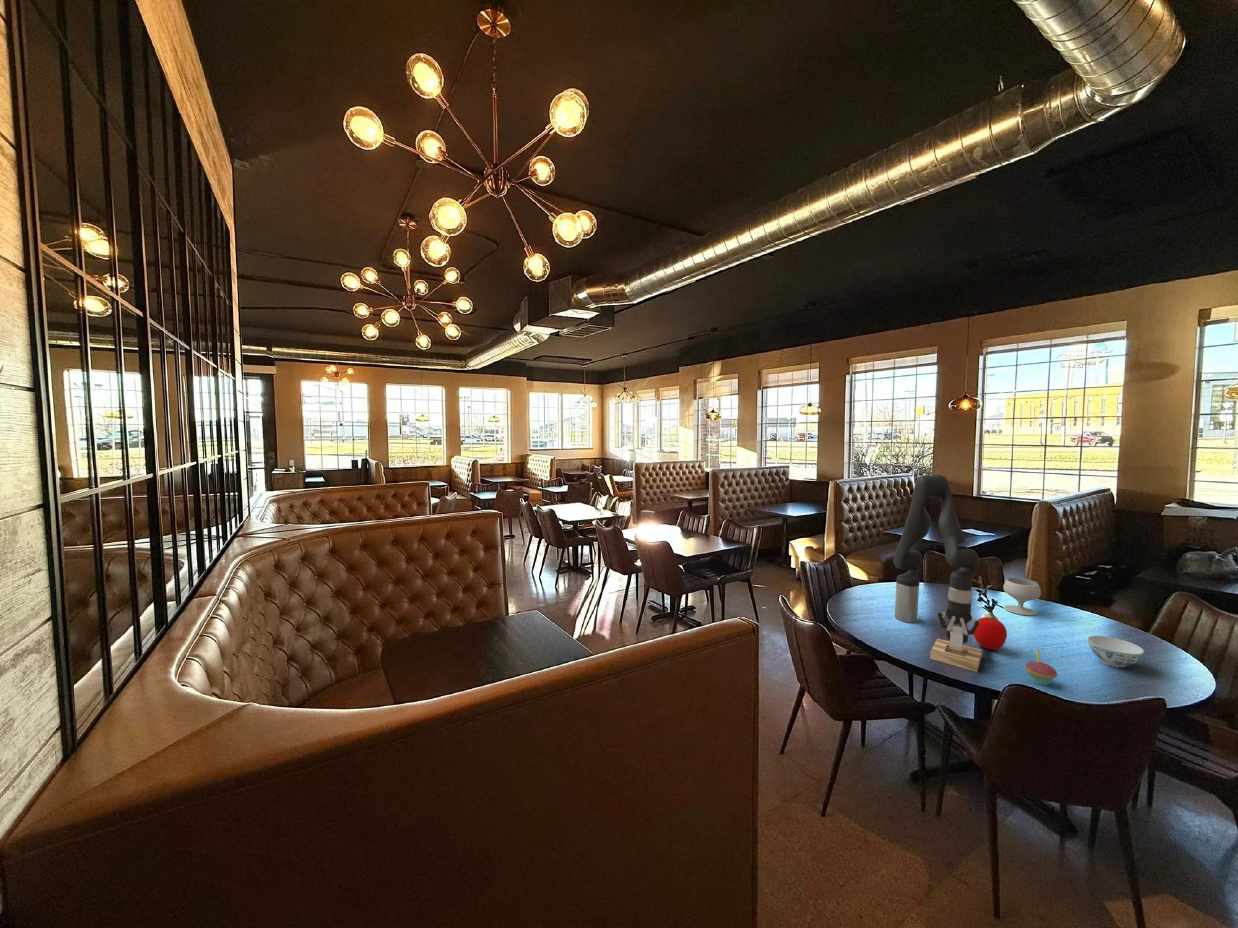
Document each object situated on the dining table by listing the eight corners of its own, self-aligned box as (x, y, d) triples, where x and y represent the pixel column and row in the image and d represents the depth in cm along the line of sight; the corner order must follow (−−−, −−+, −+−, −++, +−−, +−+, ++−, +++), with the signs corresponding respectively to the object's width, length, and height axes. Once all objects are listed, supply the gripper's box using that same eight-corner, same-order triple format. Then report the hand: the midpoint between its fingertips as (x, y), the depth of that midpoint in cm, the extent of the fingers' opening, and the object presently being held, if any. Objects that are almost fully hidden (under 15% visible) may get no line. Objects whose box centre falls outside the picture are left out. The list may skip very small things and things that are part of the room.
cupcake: (1017, 676, 176) (1020, 644, 174) (1039, 675, 176) (1041, 643, 175) (1040, 689, 167) (1043, 656, 166) (1062, 688, 168) (1065, 655, 167)
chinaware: (1084, 650, 195) (1085, 632, 194) (1137, 661, 185) (1139, 642, 185) (1088, 664, 183) (1090, 645, 183) (1145, 678, 174) (1148, 657, 173)
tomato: (991, 656, 190) (994, 625, 189) (965, 643, 201) (967, 614, 200) (1012, 652, 193) (1015, 621, 192) (986, 640, 204) (988, 611, 203)
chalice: (1035, 609, 236) (1038, 580, 235) (1041, 619, 224) (1044, 588, 223) (1000, 603, 244) (1002, 575, 242) (1003, 613, 232) (1006, 583, 230)
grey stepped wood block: (951, 643, 193) (952, 625, 192) (963, 646, 190) (965, 628, 189) (948, 649, 187) (950, 631, 187) (961, 653, 185) (962, 634, 184)
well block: (936, 645, 200) (937, 638, 199) (981, 657, 190) (982, 649, 189) (930, 658, 188) (930, 651, 188) (977, 672, 178) (977, 664, 178)
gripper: (983, 600, 185) (980, 643, 186) (939, 592, 194) (937, 632, 196) (981, 606, 179) (978, 650, 181) (936, 597, 189) (933, 638, 190)
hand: (956, 640), depth 188 cm, fingers closed on grey stepped wood block, 4 cm apart
